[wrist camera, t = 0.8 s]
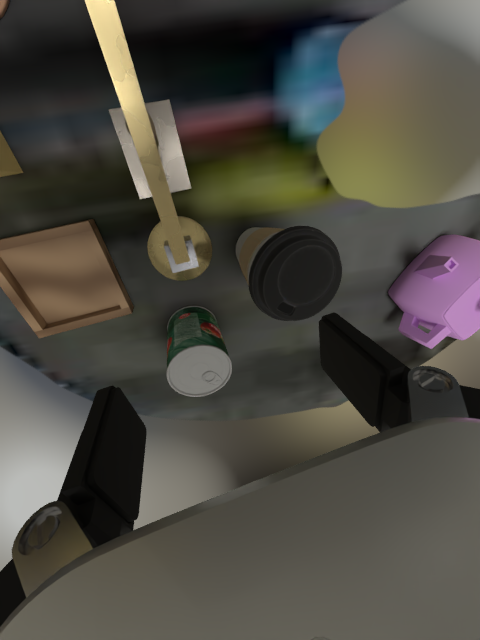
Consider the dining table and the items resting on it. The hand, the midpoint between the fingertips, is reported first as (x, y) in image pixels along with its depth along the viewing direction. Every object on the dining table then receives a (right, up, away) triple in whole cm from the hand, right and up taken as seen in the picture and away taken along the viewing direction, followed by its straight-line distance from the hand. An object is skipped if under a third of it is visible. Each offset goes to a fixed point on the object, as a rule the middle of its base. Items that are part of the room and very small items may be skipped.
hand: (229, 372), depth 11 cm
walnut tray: (-21, +8, +20) cm, 30 cm away
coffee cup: (+3, +13, +24) cm, 27 cm away
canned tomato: (-7, +1, +28) cm, 29 cm away
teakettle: (+35, +11, +35) cm, 51 cm away
